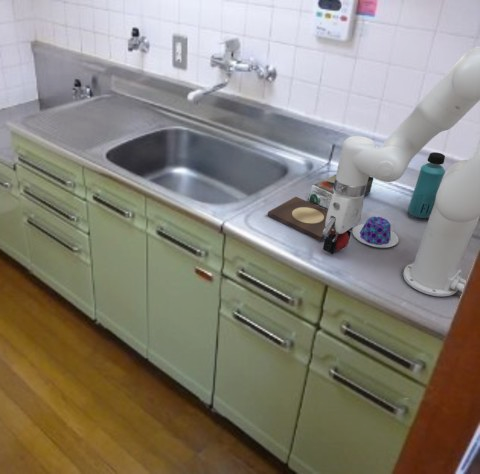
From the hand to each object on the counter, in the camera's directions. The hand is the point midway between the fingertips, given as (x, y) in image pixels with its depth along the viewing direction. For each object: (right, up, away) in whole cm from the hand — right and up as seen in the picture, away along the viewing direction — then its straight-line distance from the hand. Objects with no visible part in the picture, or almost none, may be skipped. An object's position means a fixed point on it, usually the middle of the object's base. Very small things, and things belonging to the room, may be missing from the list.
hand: (335, 246), depth 140 cm
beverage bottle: (+30, +8, +16) cm, 35 cm away
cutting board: (-4, +7, +14) cm, 16 cm away
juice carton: (+10, +15, +25) cm, 31 cm away
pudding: (+13, +2, +6) cm, 15 cm away
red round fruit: (0, -1, +1) cm, 2 cm away
